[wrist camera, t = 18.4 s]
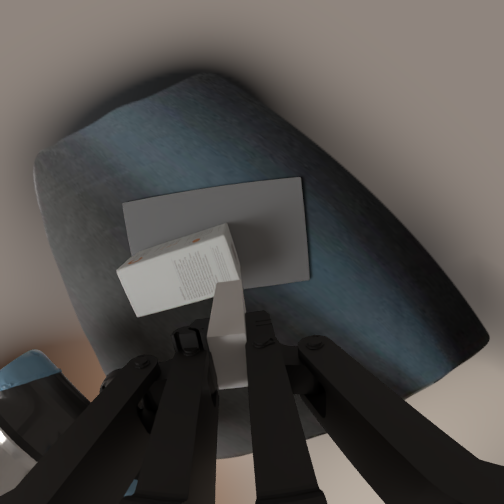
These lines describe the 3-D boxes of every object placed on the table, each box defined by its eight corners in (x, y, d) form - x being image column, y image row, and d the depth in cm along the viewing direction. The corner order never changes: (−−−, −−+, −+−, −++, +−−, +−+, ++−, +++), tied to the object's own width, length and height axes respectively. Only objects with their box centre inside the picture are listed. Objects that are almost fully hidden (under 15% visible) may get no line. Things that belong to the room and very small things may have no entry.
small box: (242, 266, 37) (154, 292, 38) (227, 221, 36) (137, 250, 36) (243, 290, 30) (136, 319, 30) (224, 234, 28) (114, 269, 28)
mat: (143, 298, 38) (142, 300, 38) (123, 203, 35) (122, 203, 35) (308, 278, 39) (309, 279, 38) (299, 177, 36) (300, 177, 35)
